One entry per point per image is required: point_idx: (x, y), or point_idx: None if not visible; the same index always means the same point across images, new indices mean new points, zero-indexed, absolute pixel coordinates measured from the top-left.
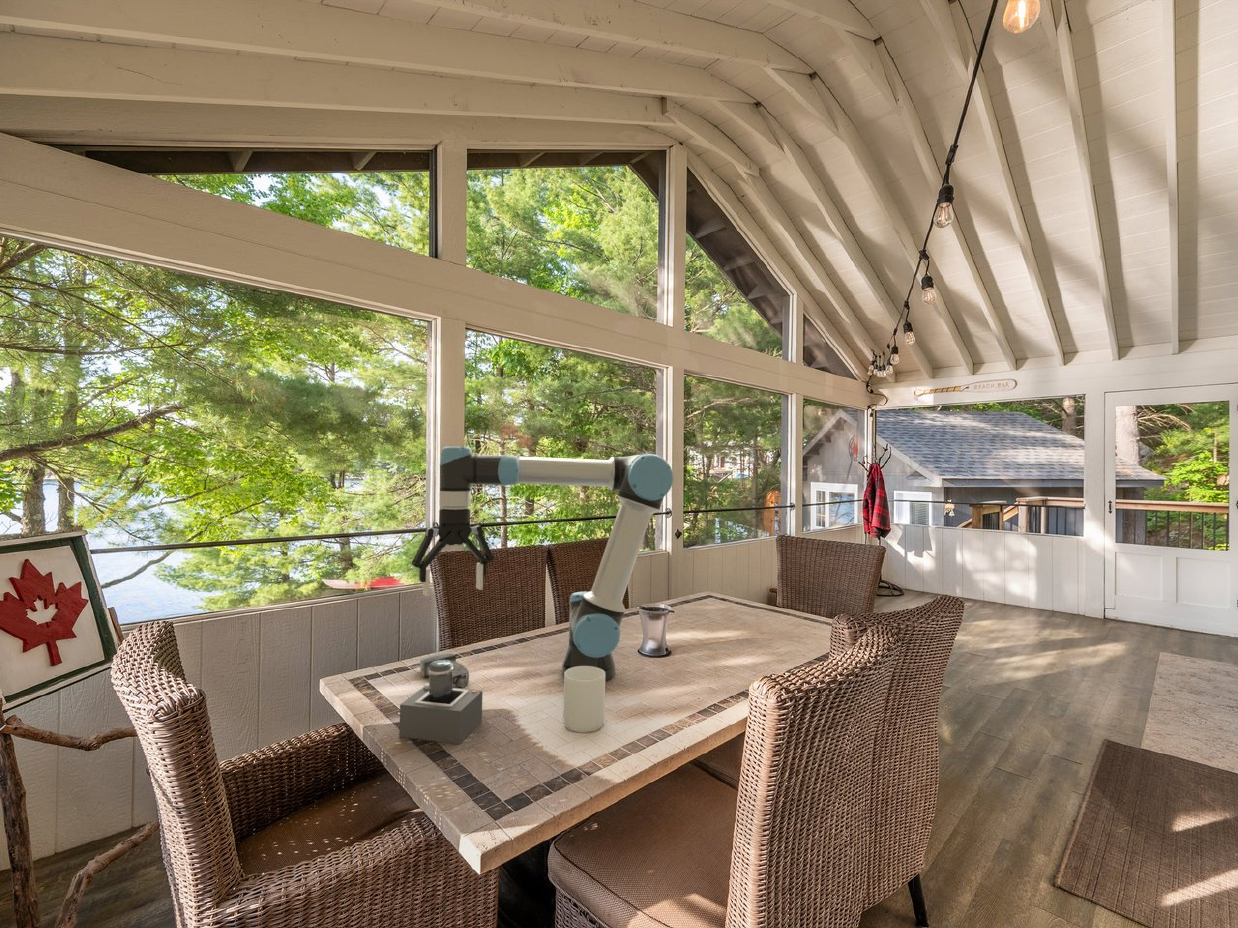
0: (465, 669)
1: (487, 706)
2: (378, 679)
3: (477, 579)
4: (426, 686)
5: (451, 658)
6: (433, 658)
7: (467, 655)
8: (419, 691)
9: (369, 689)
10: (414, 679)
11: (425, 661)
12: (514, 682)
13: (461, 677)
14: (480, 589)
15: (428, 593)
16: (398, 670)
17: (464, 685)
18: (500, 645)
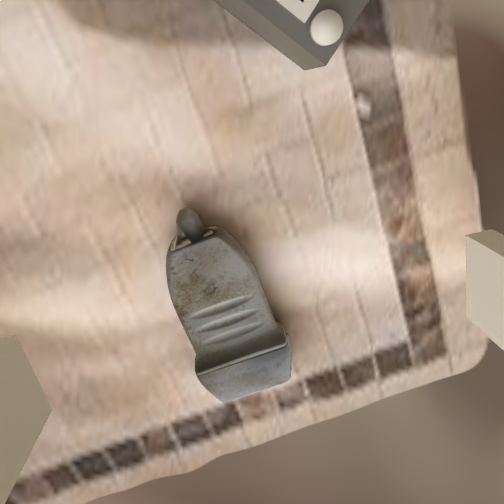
0: (174, 280)
1: (128, 61)
2: (384, 337)
3: (3, 449)
4: (335, 12)
5: (208, 362)
6: (259, 363)
7: (156, 432)
8: (355, 9)
9: (412, 284)
10: (304, 314)
11: (283, 347)
12: (34, 214)
13: (190, 236)
14: (8, 337)
15: (484, 242)
16: (333, 379)
17: (184, 208)
18: (61, 478)
